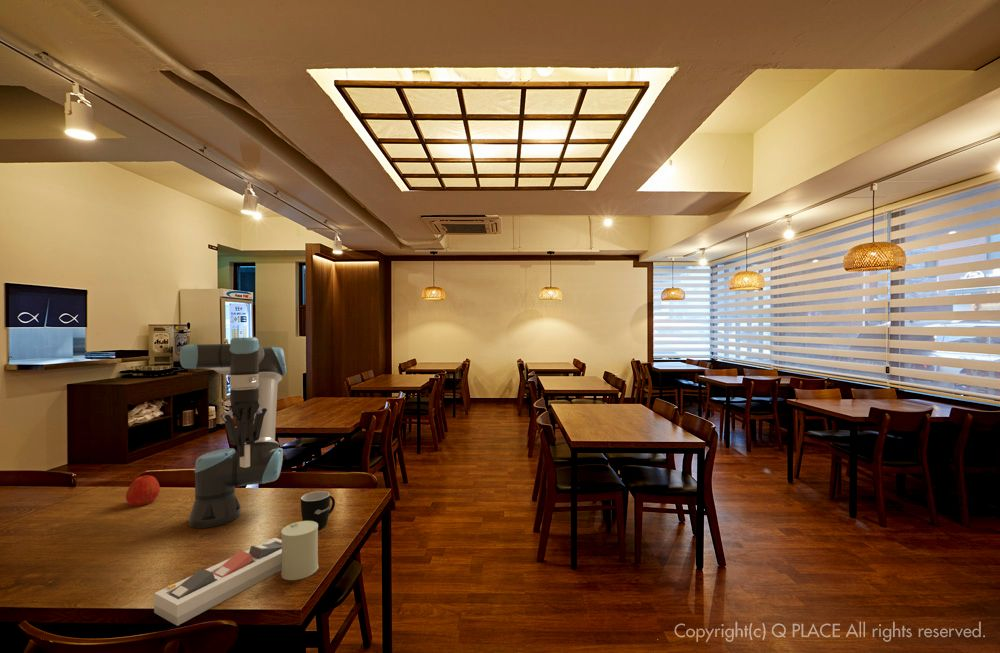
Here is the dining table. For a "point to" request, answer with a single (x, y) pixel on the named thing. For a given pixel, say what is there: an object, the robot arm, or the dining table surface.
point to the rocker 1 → (193, 583)
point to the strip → (216, 588)
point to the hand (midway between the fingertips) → (244, 466)
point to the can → (299, 550)
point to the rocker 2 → (264, 549)
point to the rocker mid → (234, 564)
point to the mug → (317, 507)
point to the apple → (142, 490)
